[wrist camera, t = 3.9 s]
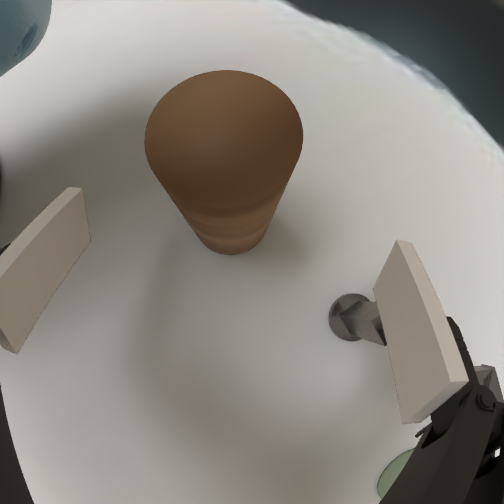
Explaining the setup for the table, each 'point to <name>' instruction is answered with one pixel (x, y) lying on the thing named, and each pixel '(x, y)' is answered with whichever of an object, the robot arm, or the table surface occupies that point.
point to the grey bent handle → (370, 328)
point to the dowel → (225, 154)
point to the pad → (392, 473)
